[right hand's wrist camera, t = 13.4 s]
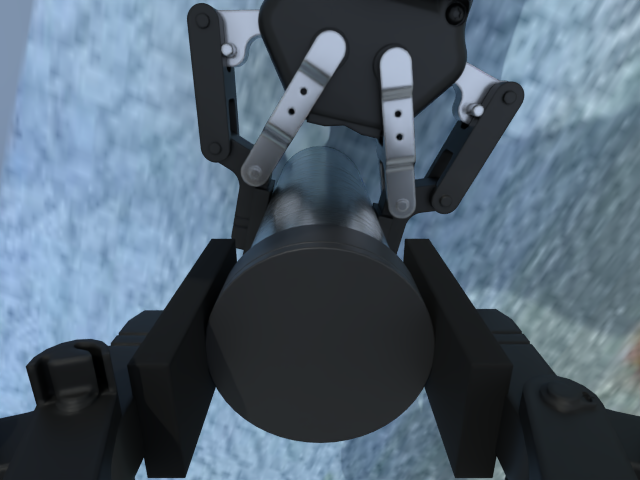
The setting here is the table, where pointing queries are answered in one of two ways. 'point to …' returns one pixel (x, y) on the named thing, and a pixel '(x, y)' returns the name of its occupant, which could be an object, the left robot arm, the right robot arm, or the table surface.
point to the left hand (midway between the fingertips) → (308, 267)
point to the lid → (320, 335)
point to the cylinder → (320, 195)
